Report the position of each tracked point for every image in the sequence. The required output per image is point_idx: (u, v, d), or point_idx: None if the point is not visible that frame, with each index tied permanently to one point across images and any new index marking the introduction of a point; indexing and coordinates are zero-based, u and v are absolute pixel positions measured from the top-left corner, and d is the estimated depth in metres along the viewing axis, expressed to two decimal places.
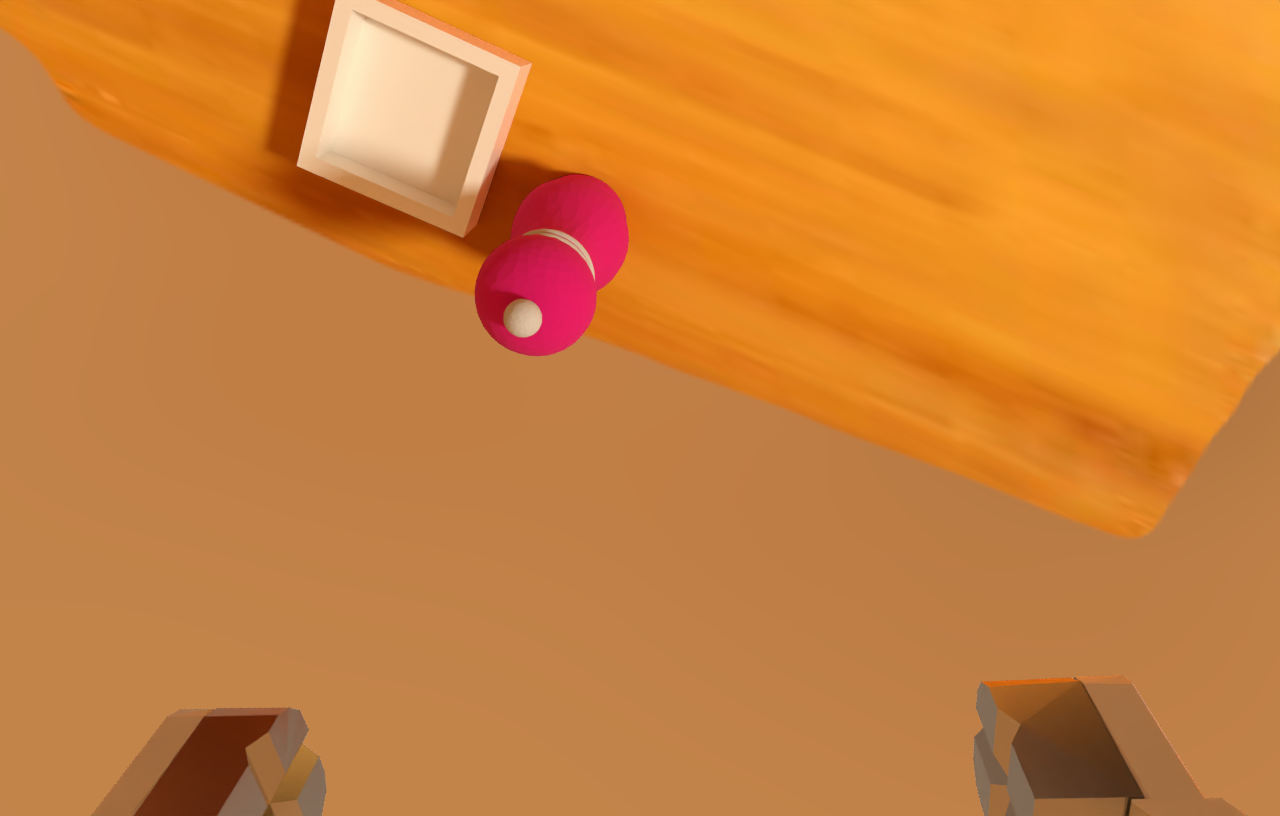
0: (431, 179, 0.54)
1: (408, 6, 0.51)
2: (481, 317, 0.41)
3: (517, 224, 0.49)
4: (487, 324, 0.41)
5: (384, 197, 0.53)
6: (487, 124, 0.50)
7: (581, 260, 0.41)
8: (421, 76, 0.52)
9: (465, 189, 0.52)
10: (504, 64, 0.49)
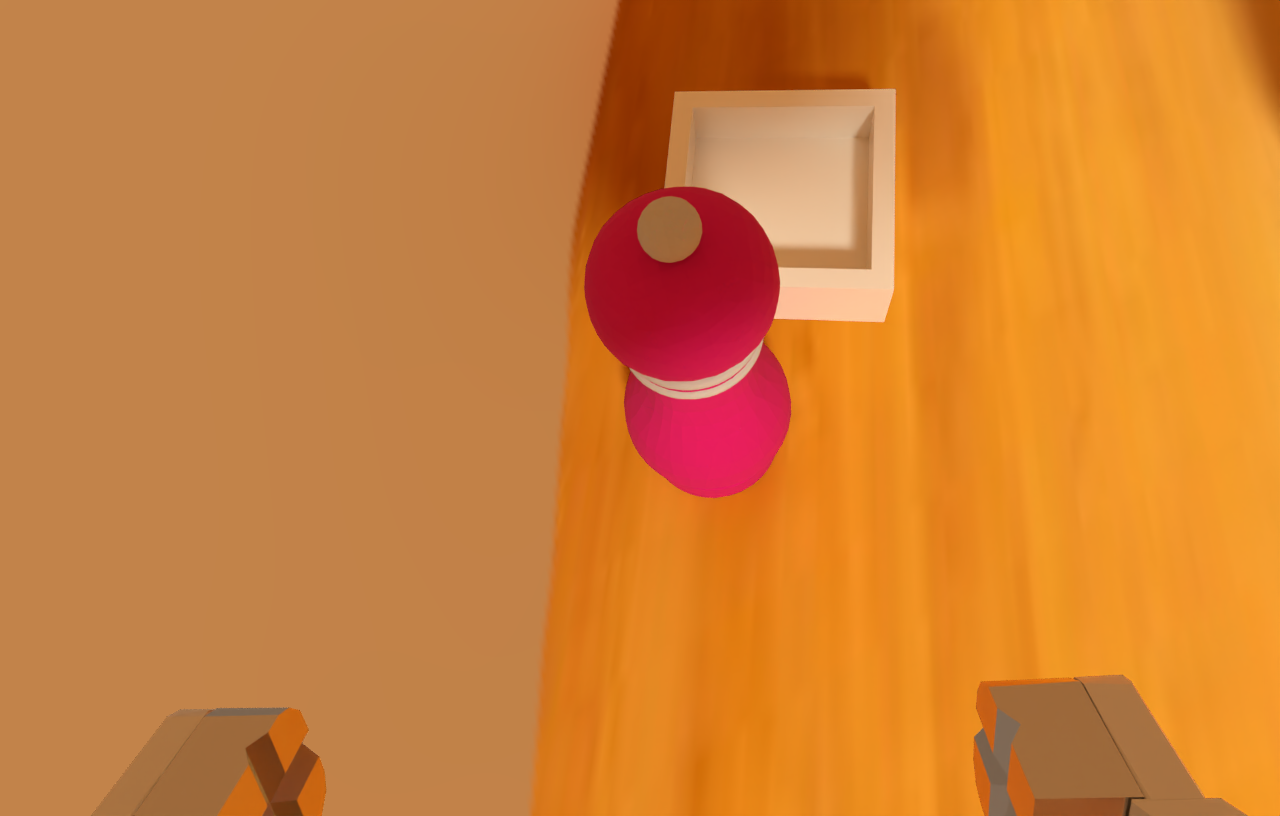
0: None
1: None
2: (631, 201, 0.25)
3: None
4: (625, 208, 0.25)
5: (672, 185, 0.42)
6: (808, 272, 0.39)
7: (764, 329, 0.25)
8: (820, 205, 0.43)
9: None
10: (888, 271, 0.38)
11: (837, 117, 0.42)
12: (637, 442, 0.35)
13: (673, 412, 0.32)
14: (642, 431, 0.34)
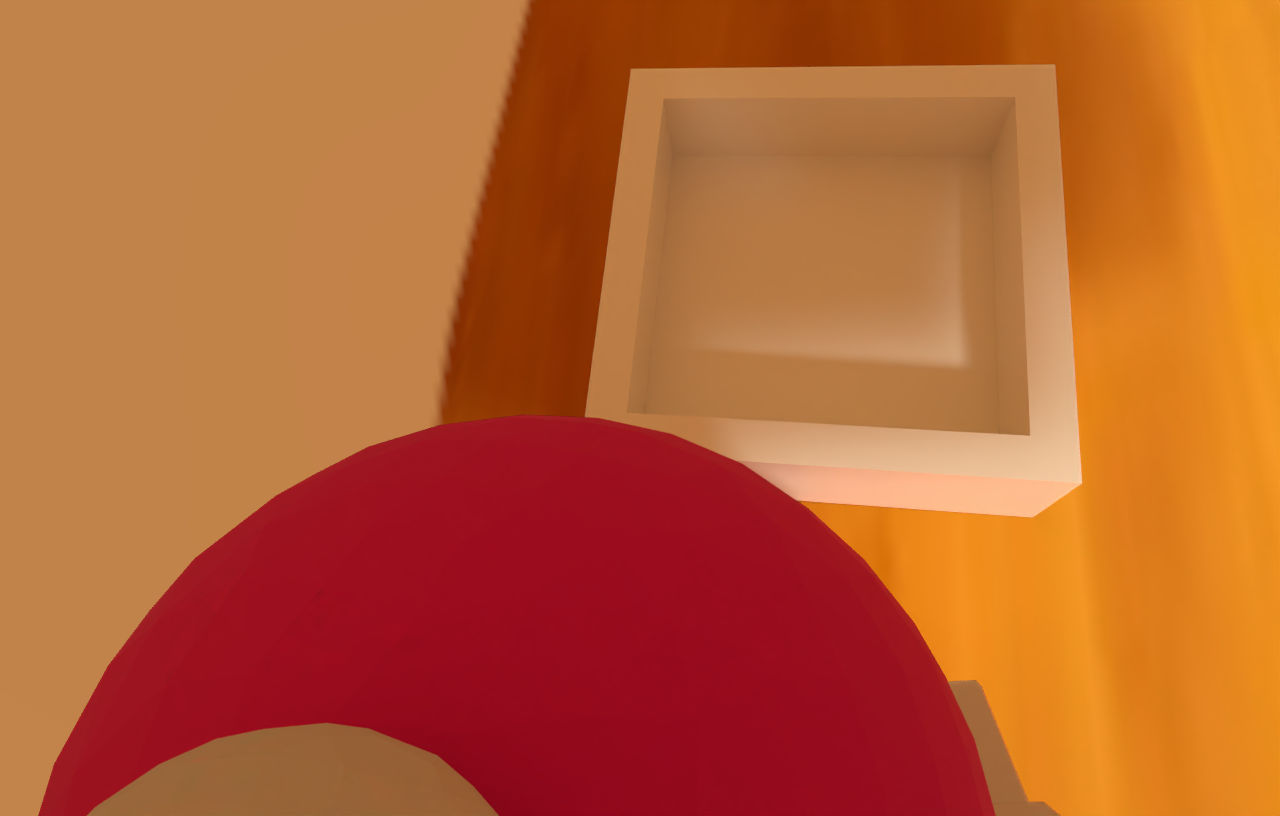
0: (684, 357, 0.23)
1: None
2: (276, 501, 0.05)
3: None
4: (217, 560, 0.05)
5: (622, 248, 0.21)
6: (897, 438, 0.19)
7: None
8: (903, 285, 0.23)
9: (709, 425, 0.20)
10: (1066, 441, 0.18)
11: (937, 119, 0.22)
12: None
13: None
14: None
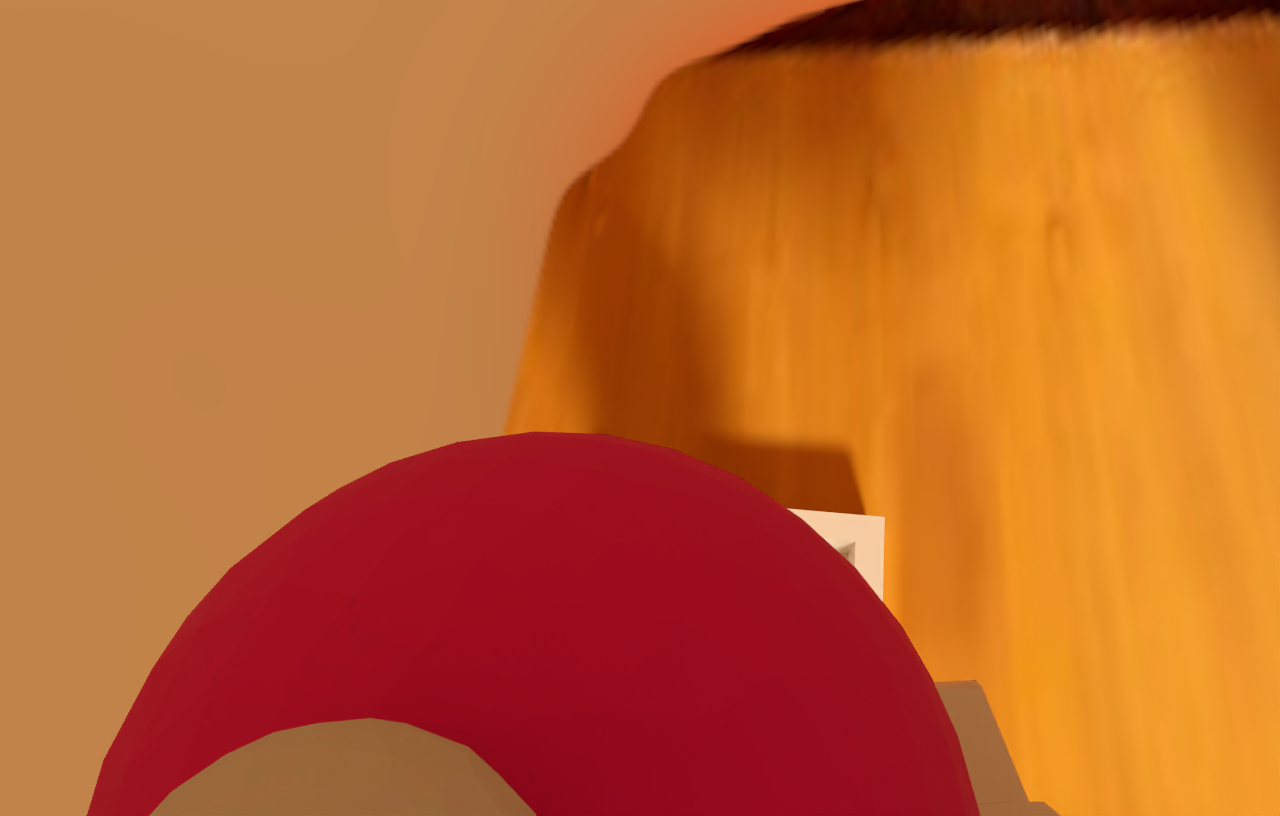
0: None
1: None
2: (305, 515, 0.06)
3: None
4: (253, 570, 0.05)
5: None
6: None
7: None
8: None
9: None
10: None
11: None
12: None
13: None
14: None
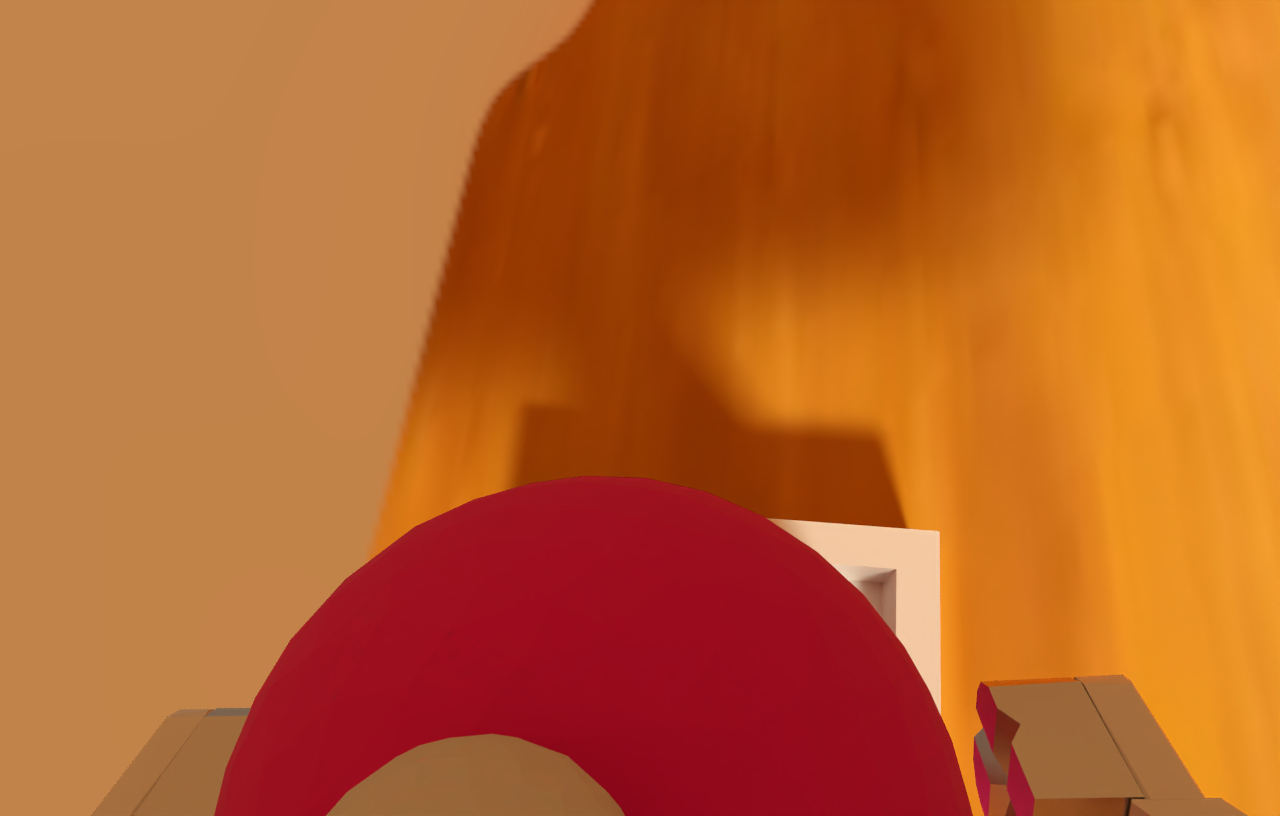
0: None
1: None
2: (394, 553, 0.06)
3: None
4: (355, 602, 0.06)
5: None
6: None
7: None
8: None
9: None
10: None
11: None
12: None
13: None
14: None
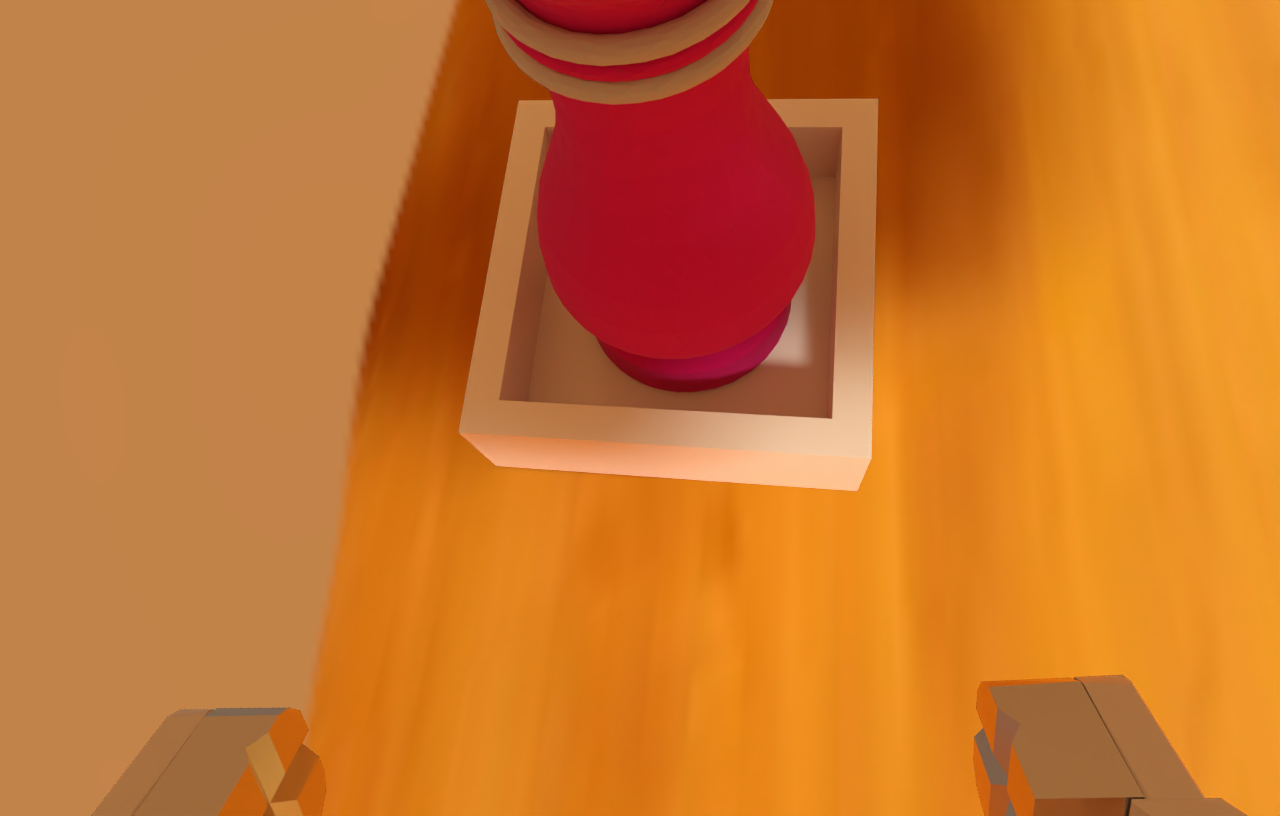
0: (563, 353, 0.26)
1: None
2: None
3: None
4: None
5: (503, 258, 0.25)
6: (722, 421, 0.22)
7: None
8: None
9: (567, 410, 0.23)
10: (861, 423, 0.22)
11: None
12: (556, 276, 0.21)
13: (606, 182, 0.17)
14: (560, 247, 0.20)
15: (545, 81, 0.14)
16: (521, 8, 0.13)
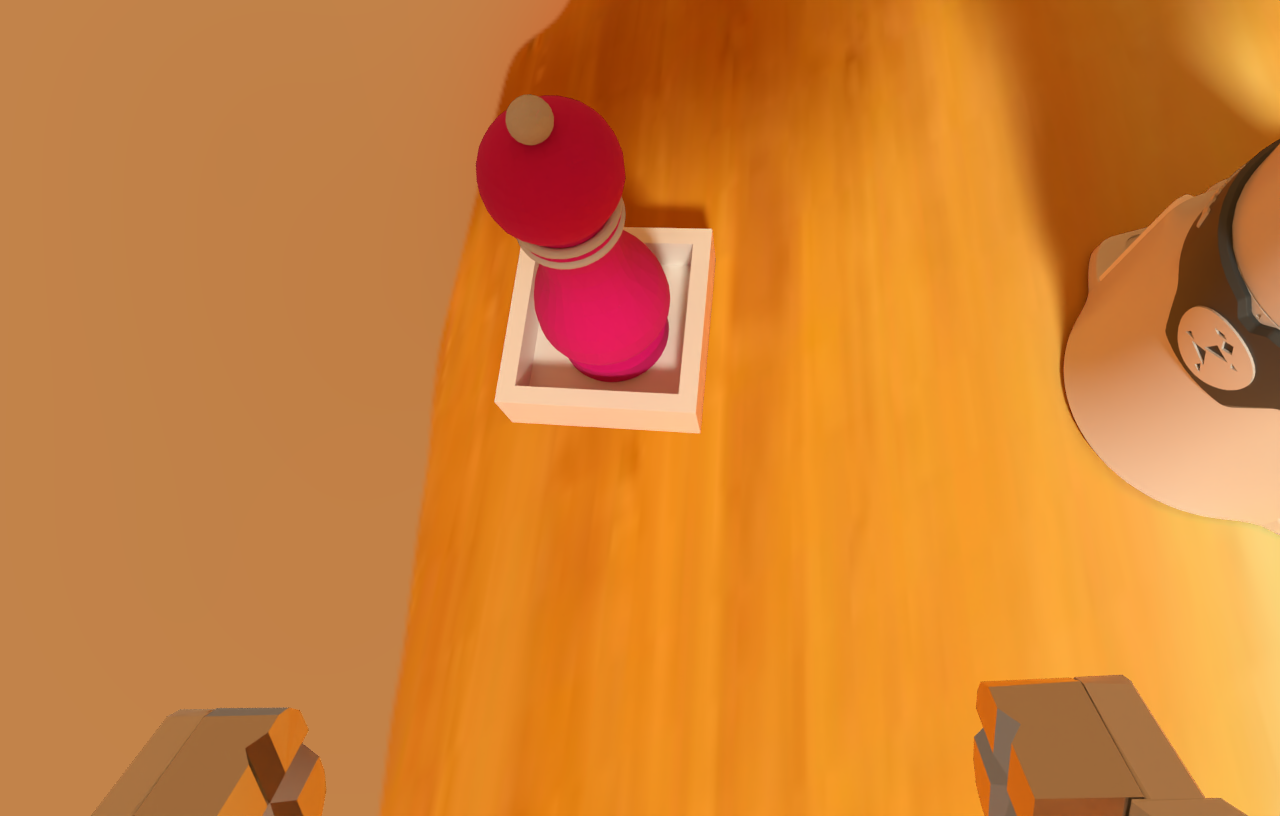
0: (548, 361, 0.49)
1: (711, 303, 0.50)
2: None
3: None
4: (505, 111, 0.33)
5: (516, 312, 0.47)
6: (625, 395, 0.45)
7: (610, 203, 0.33)
8: None
9: (549, 390, 0.46)
10: (692, 396, 0.44)
11: (664, 251, 0.48)
12: (542, 325, 0.43)
13: (562, 290, 0.40)
14: (544, 313, 0.42)
15: (535, 260, 0.37)
16: None
